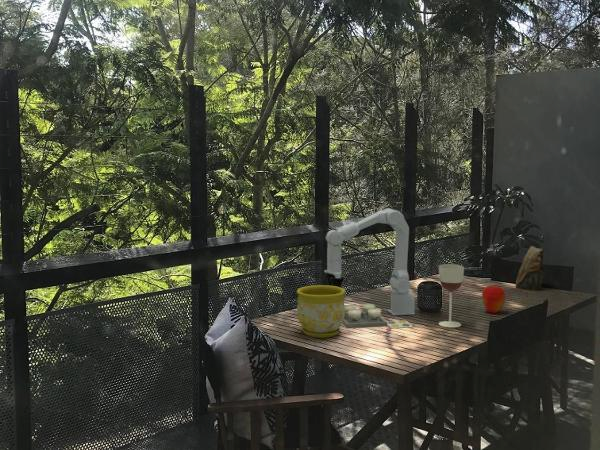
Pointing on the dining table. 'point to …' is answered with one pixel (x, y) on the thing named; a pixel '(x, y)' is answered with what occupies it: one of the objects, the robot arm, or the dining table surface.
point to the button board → (363, 321)
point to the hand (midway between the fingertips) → (334, 292)
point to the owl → (531, 270)
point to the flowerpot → (321, 310)
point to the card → (398, 324)
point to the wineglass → (450, 285)
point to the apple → (493, 298)
